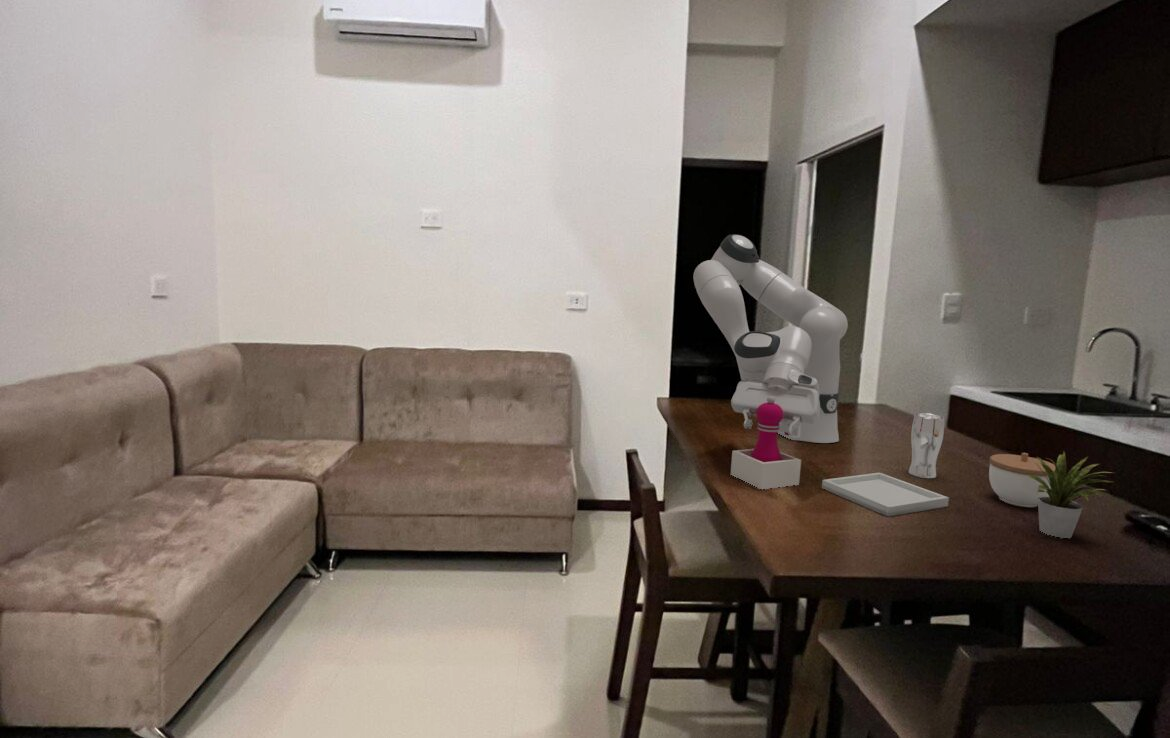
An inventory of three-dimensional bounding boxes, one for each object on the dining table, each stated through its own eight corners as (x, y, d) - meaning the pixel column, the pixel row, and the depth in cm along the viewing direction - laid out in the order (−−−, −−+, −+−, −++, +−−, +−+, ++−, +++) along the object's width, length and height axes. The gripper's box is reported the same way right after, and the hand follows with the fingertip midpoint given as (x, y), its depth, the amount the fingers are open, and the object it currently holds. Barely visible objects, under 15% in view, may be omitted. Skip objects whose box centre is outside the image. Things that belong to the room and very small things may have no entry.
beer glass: (906, 475, 160) (913, 416, 157) (907, 468, 166) (913, 411, 163) (938, 481, 156) (945, 420, 154) (937, 473, 162) (945, 415, 160)
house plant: (1070, 555, 116) (1084, 467, 113) (994, 526, 128) (1006, 446, 126) (1116, 544, 122) (1131, 460, 119) (1040, 517, 134) (1052, 441, 132)
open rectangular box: (730, 475, 154) (732, 450, 153) (767, 470, 159) (769, 447, 158) (760, 490, 144) (763, 464, 143) (798, 485, 149) (801, 459, 148)
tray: (821, 488, 147) (822, 479, 147) (878, 480, 155) (879, 472, 154) (887, 516, 131) (888, 507, 131) (947, 506, 139) (948, 497, 138)
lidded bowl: (972, 495, 147) (978, 447, 145) (1008, 489, 152) (1015, 444, 150) (1028, 514, 136) (1036, 464, 134) (1065, 508, 141) (1073, 459, 139)
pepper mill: (758, 473, 157) (765, 392, 154) (785, 480, 152) (793, 397, 149) (742, 479, 152) (748, 395, 149) (770, 487, 147) (777, 400, 144)
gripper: (737, 370, 159) (721, 415, 153) (824, 380, 149) (810, 430, 142) (742, 385, 164) (726, 430, 157) (826, 396, 153) (813, 445, 146)
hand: (766, 430), depth 149 cm, fingers open, 8 cm apart
